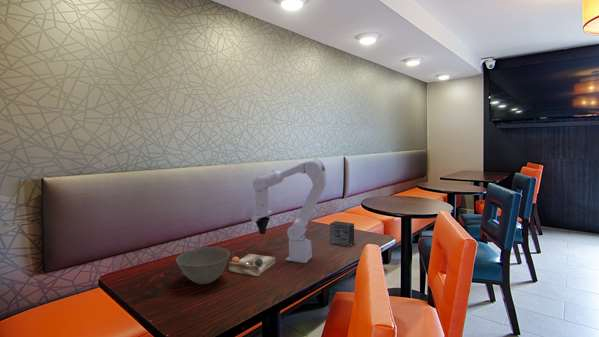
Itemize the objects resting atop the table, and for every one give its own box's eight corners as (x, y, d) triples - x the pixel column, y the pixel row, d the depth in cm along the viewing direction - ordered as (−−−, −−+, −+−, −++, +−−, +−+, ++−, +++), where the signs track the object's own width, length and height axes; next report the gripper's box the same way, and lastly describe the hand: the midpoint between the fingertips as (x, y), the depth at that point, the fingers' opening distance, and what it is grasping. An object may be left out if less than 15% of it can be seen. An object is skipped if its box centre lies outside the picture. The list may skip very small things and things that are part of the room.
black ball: (264, 265, 126) (264, 257, 125) (260, 267, 123) (260, 260, 123) (257, 264, 127) (257, 256, 127) (253, 266, 124) (253, 259, 124)
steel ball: (245, 271, 124) (251, 270, 127) (248, 263, 124) (253, 263, 127) (240, 268, 126) (246, 268, 128) (242, 260, 126) (248, 260, 129)
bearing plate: (275, 262, 134) (275, 254, 134) (257, 276, 120) (257, 267, 120) (249, 258, 139) (249, 250, 139) (229, 271, 125) (228, 262, 125)
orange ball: (240, 263, 128) (240, 256, 128) (236, 266, 125) (236, 258, 125) (234, 262, 129) (234, 255, 129) (230, 264, 126) (230, 257, 126)
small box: (354, 243, 156) (354, 222, 155) (349, 247, 151) (349, 226, 150) (335, 240, 162) (335, 220, 161) (329, 244, 156) (329, 223, 156)
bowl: (176, 276, 121) (175, 251, 120) (225, 267, 129) (225, 244, 128) (178, 298, 104) (177, 269, 103) (235, 287, 111) (234, 259, 111)
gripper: (262, 200, 148) (262, 228, 149) (245, 206, 135) (246, 237, 136) (275, 201, 145) (276, 230, 147) (259, 207, 132) (260, 239, 133)
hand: (262, 233), depth 141 cm, fingers closed
